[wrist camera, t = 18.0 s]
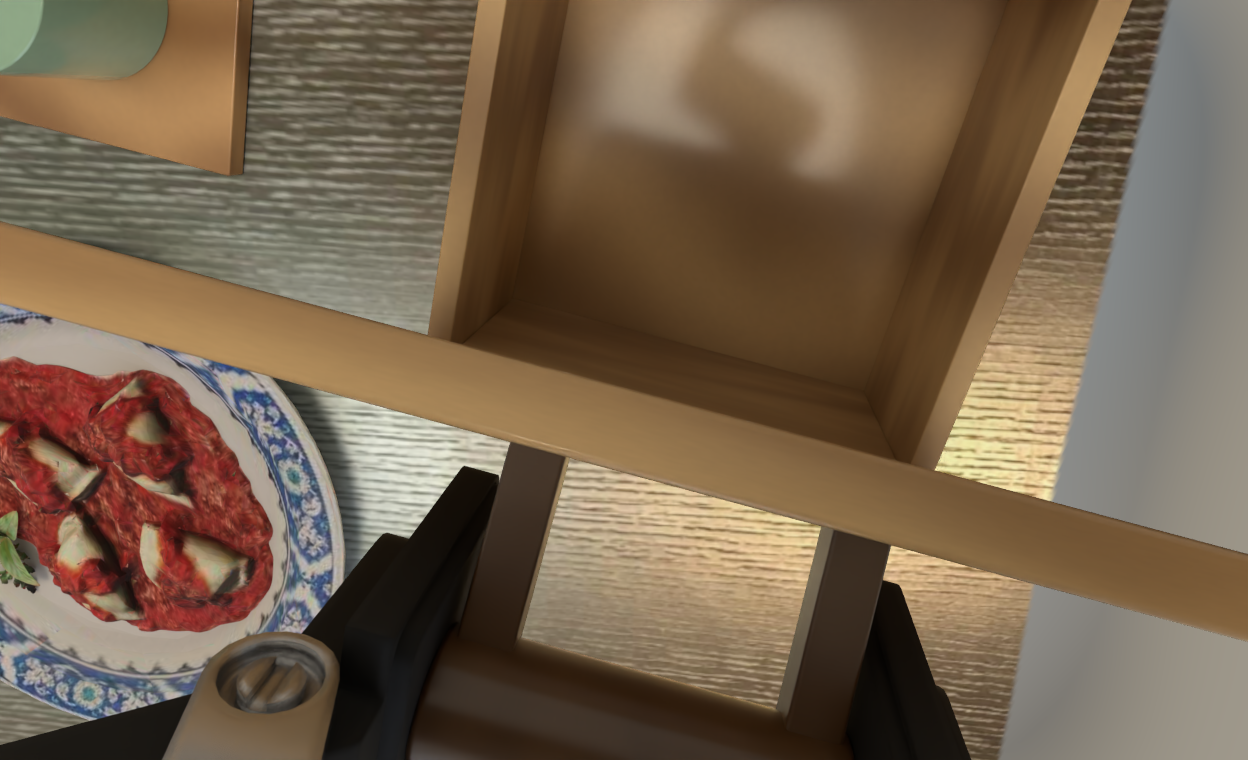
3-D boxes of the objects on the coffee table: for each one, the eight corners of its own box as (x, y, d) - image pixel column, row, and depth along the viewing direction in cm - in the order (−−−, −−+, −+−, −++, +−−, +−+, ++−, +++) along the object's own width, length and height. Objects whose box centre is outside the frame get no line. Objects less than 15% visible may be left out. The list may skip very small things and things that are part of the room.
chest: (576, -131, 28) (513, -229, 20) (1033, -21, 27) (1164, -75, 19) (496, 306, 34) (421, 370, 26) (873, 406, 33) (920, 504, 25)
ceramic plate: (278, 201, 34) (236, 209, 31) (416, 694, 41) (394, 737, 39) (-208, 275, 38) (-283, 289, 35) (1, 709, 46) (-46, 749, 43)
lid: (-67, 202, 8) (-230, 695, 8) (1613, 650, 7) (1510, 1210, 7) (419, 363, 25) (376, 515, 25) (926, 499, 25) (888, 656, 24)
